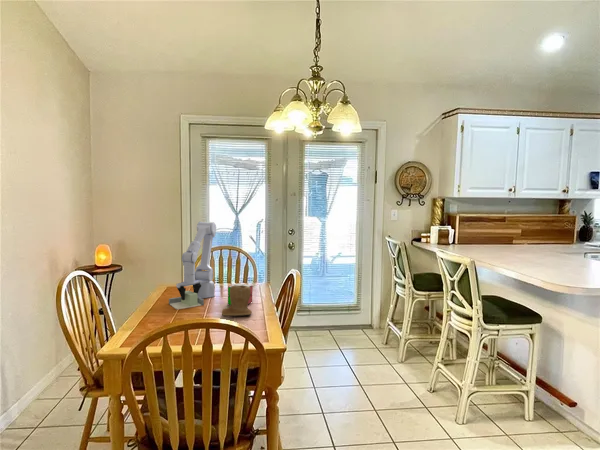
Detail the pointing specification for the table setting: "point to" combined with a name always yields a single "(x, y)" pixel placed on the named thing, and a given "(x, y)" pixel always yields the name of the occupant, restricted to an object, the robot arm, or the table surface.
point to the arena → (178, 305)
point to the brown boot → (238, 301)
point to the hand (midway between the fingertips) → (189, 298)
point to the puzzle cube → (240, 285)
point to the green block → (190, 298)
